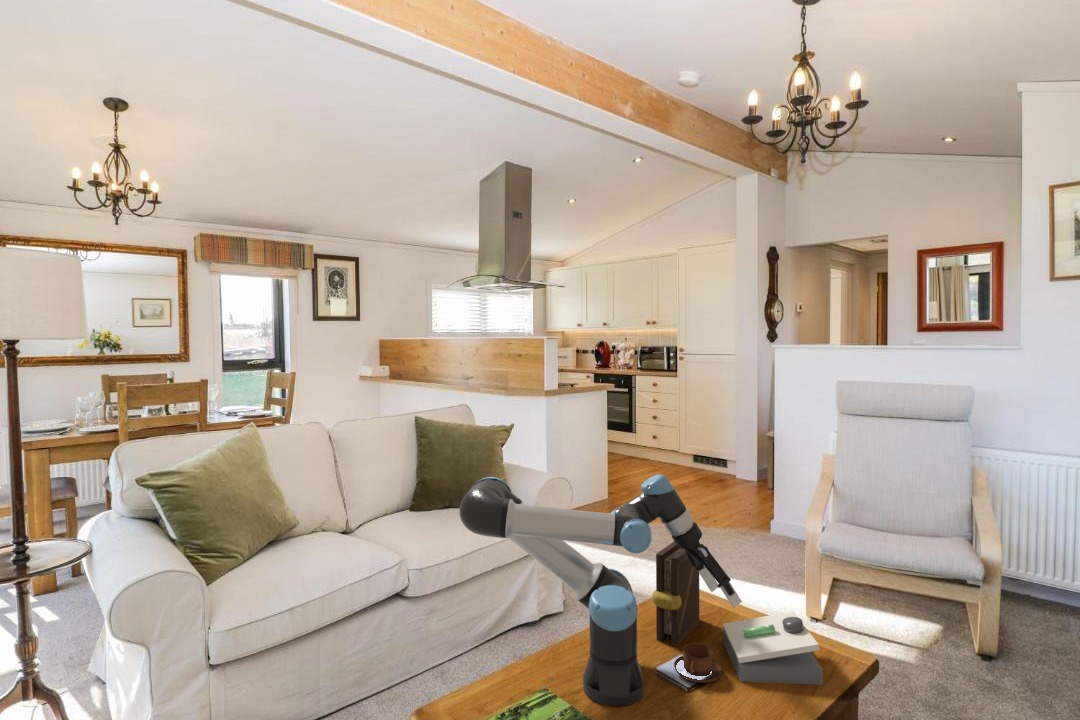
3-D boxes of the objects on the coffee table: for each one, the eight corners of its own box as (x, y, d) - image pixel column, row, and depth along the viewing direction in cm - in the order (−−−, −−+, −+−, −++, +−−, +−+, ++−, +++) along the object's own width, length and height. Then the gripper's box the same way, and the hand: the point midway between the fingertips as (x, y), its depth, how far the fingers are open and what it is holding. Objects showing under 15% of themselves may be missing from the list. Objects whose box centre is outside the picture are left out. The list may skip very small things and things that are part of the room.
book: (678, 613, 185) (678, 535, 184) (705, 620, 180) (704, 540, 179) (648, 642, 167) (648, 556, 166) (676, 651, 162) (676, 562, 161)
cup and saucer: (724, 690, 144) (724, 665, 144) (674, 684, 147) (674, 660, 146) (719, 663, 156) (719, 641, 156) (673, 659, 158) (673, 637, 158)
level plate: (739, 663, 148) (736, 649, 148) (723, 628, 166) (720, 616, 166) (819, 650, 146) (816, 635, 146) (794, 616, 164) (792, 603, 164)
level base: (740, 681, 147) (740, 666, 147) (722, 641, 167) (722, 627, 167) (822, 684, 146) (823, 669, 145) (795, 643, 165) (795, 629, 165)
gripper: (713, 529, 144) (759, 602, 144) (677, 512, 169) (717, 575, 168) (688, 546, 143) (735, 620, 143) (656, 527, 168) (696, 590, 167)
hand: (725, 596), depth 155 cm, fingers open, 13 cm apart
